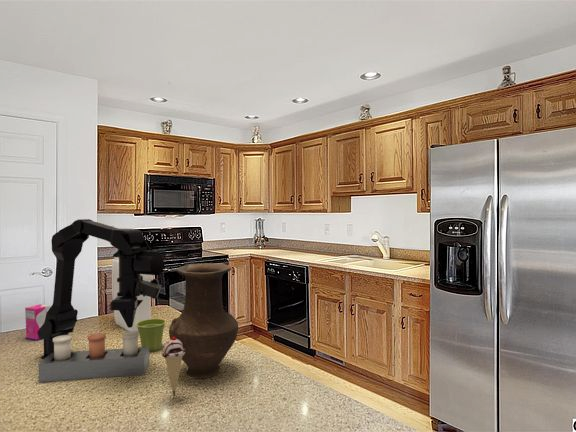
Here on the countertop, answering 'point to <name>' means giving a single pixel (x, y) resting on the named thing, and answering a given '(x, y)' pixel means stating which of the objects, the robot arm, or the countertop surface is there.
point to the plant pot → (151, 333)
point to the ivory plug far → (130, 343)
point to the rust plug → (97, 345)
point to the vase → (204, 320)
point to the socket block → (94, 365)
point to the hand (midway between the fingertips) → (130, 327)
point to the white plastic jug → (145, 307)
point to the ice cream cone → (173, 359)
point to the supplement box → (35, 320)
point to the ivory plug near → (62, 347)
